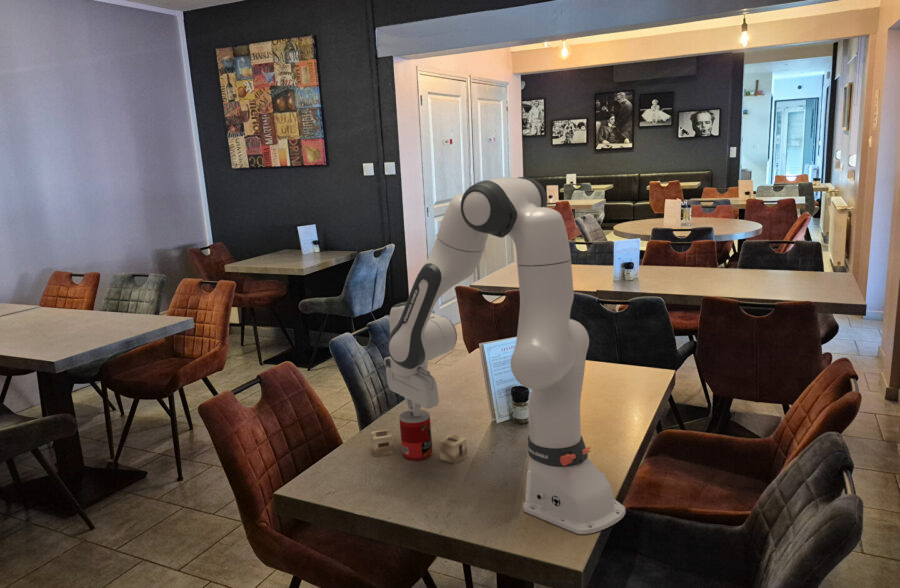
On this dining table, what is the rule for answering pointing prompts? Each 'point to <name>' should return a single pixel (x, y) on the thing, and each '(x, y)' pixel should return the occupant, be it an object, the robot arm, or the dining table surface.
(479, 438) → the dining table surface
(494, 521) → the dining table surface
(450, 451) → the marked cube near
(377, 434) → the marked cube far
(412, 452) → the canned food
